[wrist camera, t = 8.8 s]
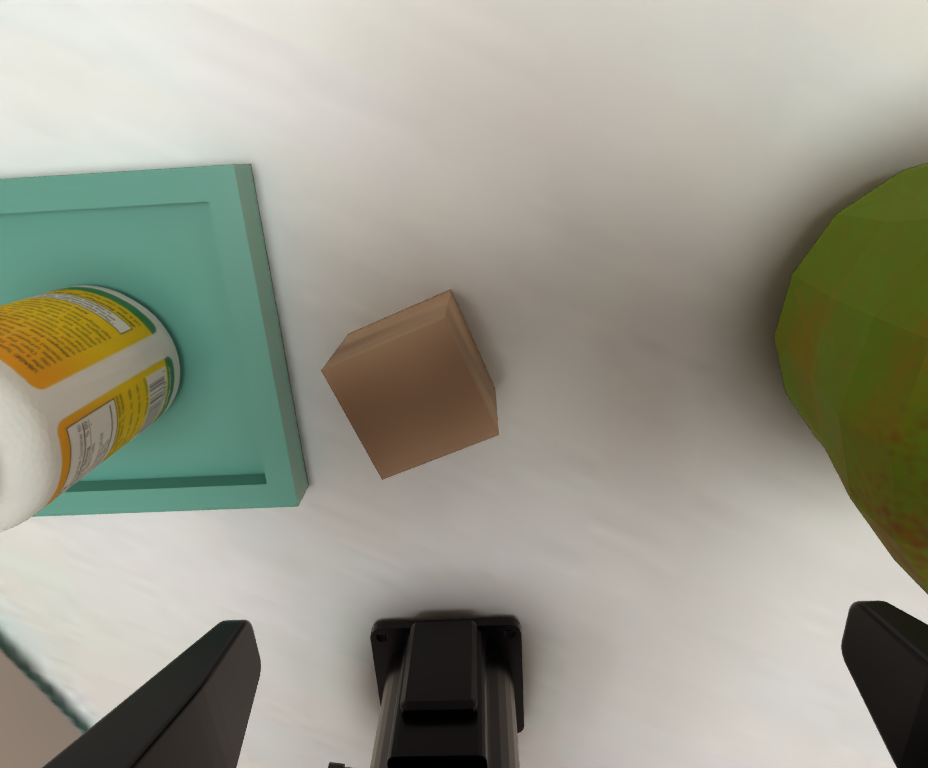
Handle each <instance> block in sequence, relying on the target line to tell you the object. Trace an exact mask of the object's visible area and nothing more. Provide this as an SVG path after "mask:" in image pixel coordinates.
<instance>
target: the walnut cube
mask: <svg viewBox="0 0 928 768" xmlns="http://www.w3.org/2000/svg"><path fill="white" fill-rule="evenodd" d="M321 371H322V373H323V375H324V376H325V378H326V380H327V382H328V384H329V385H330V387H331V389H332V391H333V392H334V394H335V396H336V398H337V400H338V401H339V403H340V405H341V407H342V409H343V410H344V412H345V414H346V416H347V418H348V419H349V421H350V423H351V425H352V427H353V428H354V430H355V432H356V434H357V435H358V437H359V439H360V441H361V443H362V444H363V446H364V448H365V450H366V452H367V453H368V455H369V457H370V459H371V461H372V462H373V464H374V466H375V468H376V470H377V471H378V473H379V475H380V477H381V478H382V480H383V479H385V478H388V477H390V476H393V475H396V474H398V473H401V472H403V471H406V470H409V469H411V468H414V467H416V466H419V465H422V464H424V463H427V462H429V461H432V460H435V459H437V458H440V457H442V456H445V455H448V454H450V453H453V452H455V451H458V450H461V449H463V448H466V447H468V446H471V445H474V444H476V443H479V442H481V441H484V440H487V439H489V438H492V437H494V436H497V435H499V431H498V418H497V406H496V394H495V387H494V385H493V382H492V380H491V378H490V376H489V374H488V371H487V369H486V367H485V365H484V363H483V360H482V358H481V356H480V354H479V351H478V349H477V347H476V345H475V343H474V340H473V338H472V336H471V334H470V332H469V329H468V327H467V325H466V323H465V321H464V318H463V316H462V314H461V312H460V309H459V307H458V305H457V303H456V301H455V298H454V296H453V294H452V292H451V290H448V291H446V292H444V293H441V294H439V295H437V296H435V297H432V298H430V299H428V300H425V301H423V302H421V303H418V304H416V305H414V306H412V307H409V308H407V309H405V310H402V311H400V312H398V313H395V314H393V315H391V316H389V317H386V318H384V319H382V320H379V321H377V322H375V323H372V324H370V325H368V326H366V327H363V328H361V329H359V330H356V331H354V332H352V333H349V334H348V335H347V337H346V338H345V340H344V341H343V342H342V344H341V345H340V346H339V348H338V349H337V350H336V352H335V353H334V354H333V356H332V357H331V358H330V360H329V361H328V362H327V364H326V365H325V366H324V368H323V369H322V370H321Z"/></svg>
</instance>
